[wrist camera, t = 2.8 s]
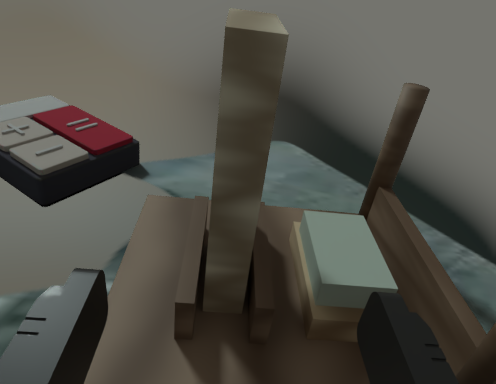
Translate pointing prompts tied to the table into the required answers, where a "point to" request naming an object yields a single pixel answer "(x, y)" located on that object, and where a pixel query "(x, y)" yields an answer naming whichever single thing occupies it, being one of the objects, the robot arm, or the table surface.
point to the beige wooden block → (241, 151)
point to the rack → (272, 294)
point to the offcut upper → (343, 259)
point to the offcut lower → (315, 316)
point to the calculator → (59, 149)
